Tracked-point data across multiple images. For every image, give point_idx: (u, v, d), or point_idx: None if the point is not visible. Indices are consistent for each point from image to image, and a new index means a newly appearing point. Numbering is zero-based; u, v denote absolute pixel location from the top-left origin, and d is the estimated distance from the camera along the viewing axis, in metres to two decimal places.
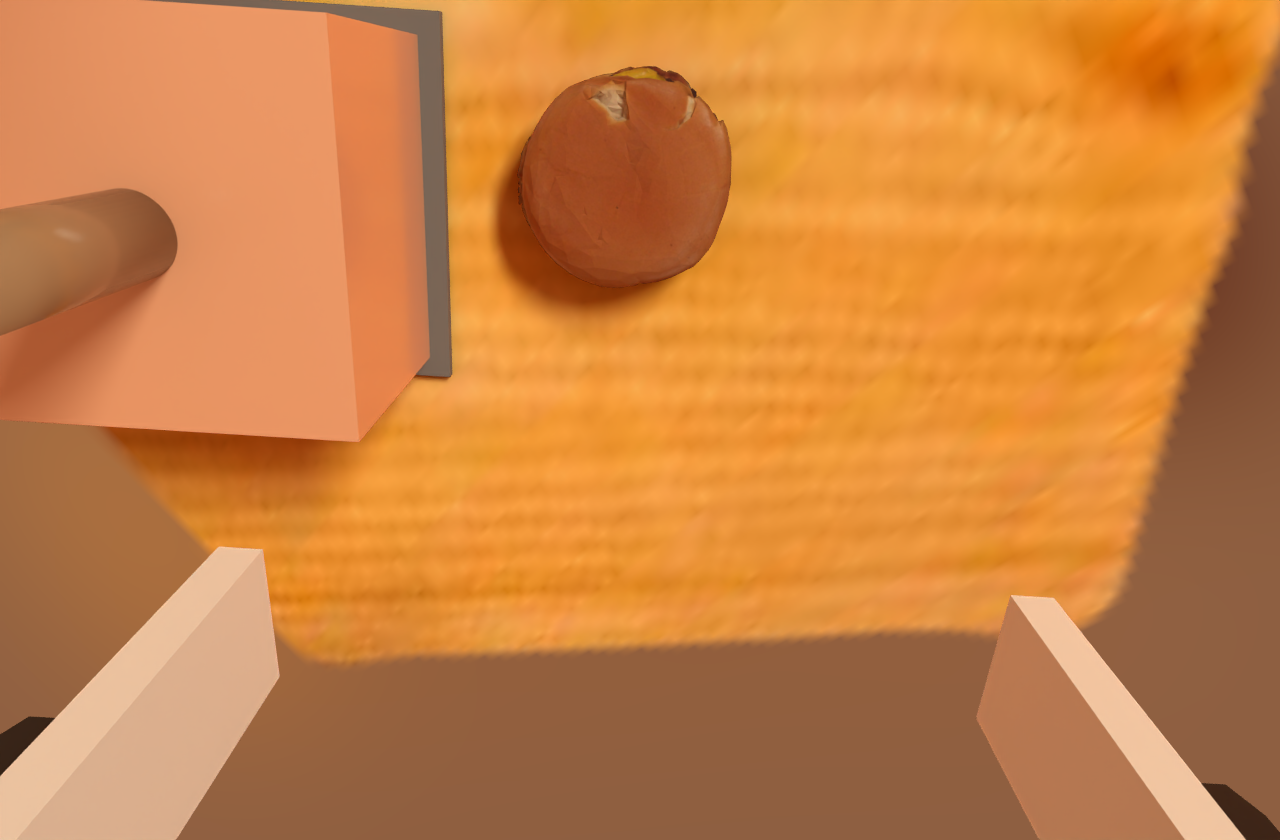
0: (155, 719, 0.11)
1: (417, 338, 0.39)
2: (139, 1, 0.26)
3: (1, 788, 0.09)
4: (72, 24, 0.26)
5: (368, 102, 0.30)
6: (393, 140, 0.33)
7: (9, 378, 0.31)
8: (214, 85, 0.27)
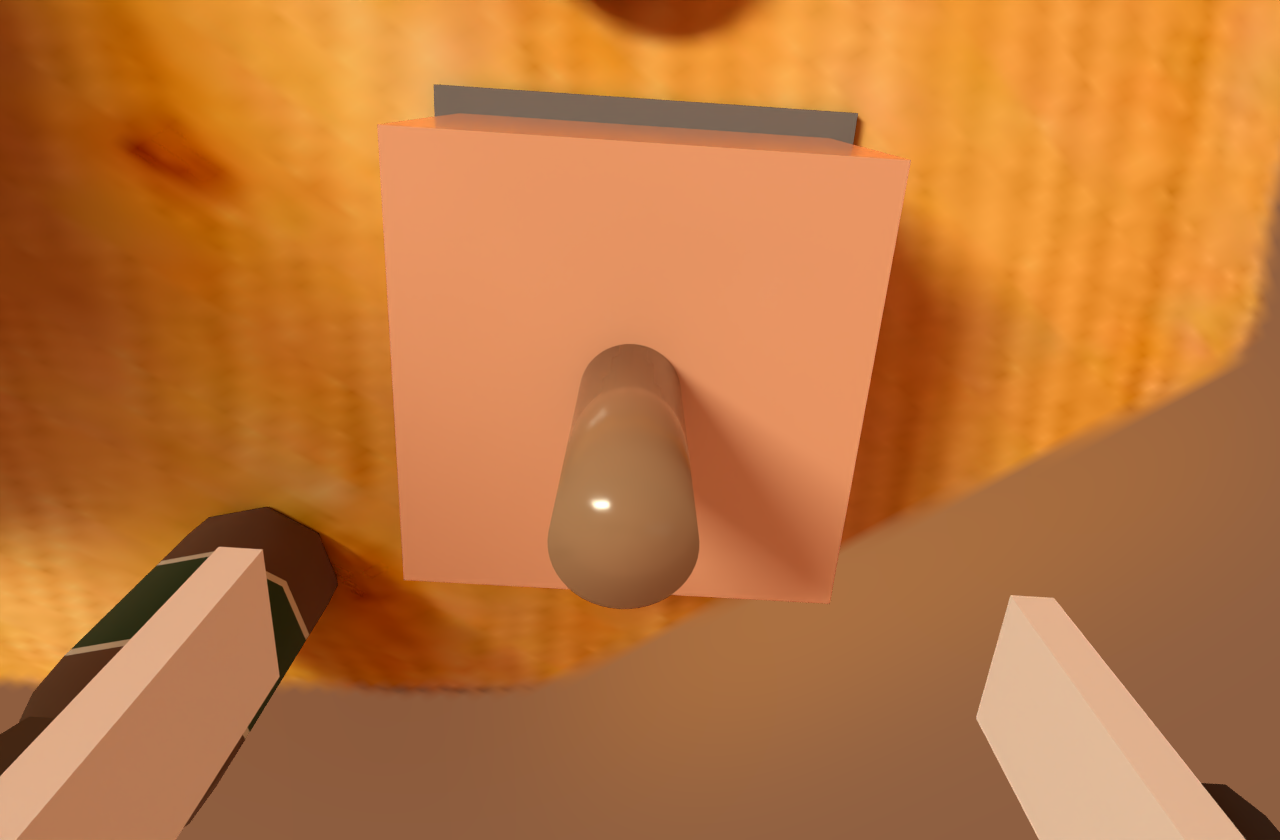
0: (155, 719, 0.11)
1: (798, 138, 0.31)
2: (390, 329, 0.25)
3: (1, 788, 0.09)
4: (419, 400, 0.26)
5: (497, 125, 0.26)
6: (552, 124, 0.29)
7: (787, 555, 0.28)
8: (466, 268, 0.24)
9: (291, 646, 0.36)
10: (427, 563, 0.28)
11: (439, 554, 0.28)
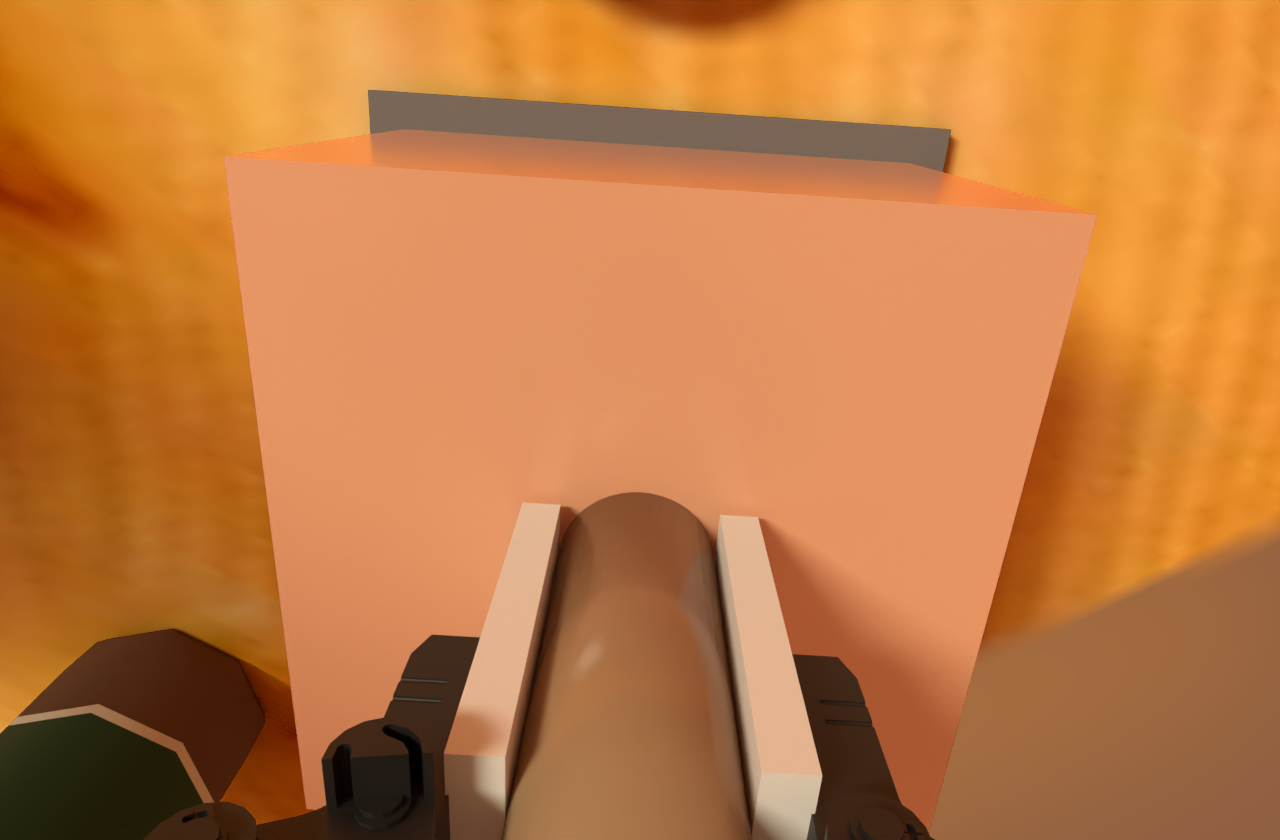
0: (537, 636, 0.13)
1: (874, 165, 0.22)
2: (265, 470, 0.16)
3: (475, 678, 0.11)
4: (316, 571, 0.17)
5: (435, 152, 0.17)
6: (526, 148, 0.20)
7: None
8: (377, 380, 0.15)
9: None
10: None
11: None
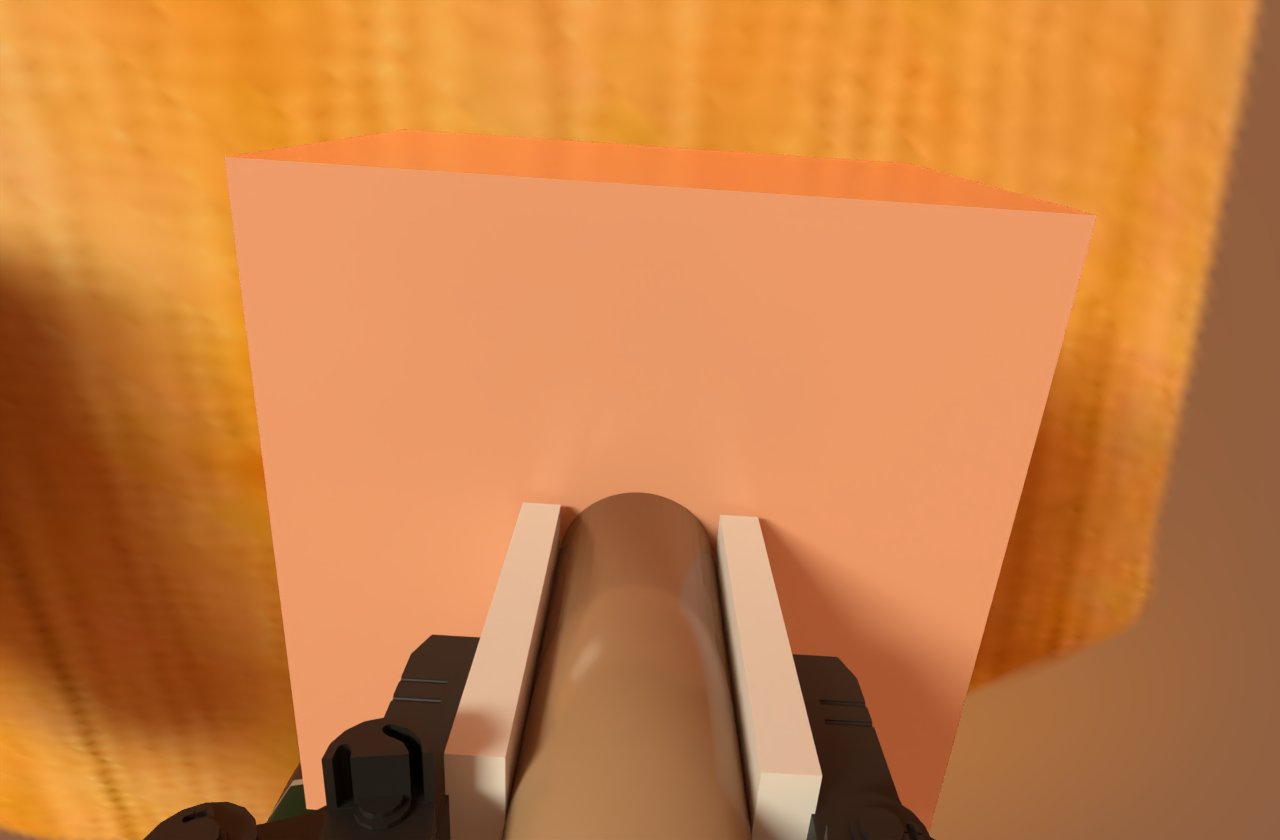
0: (538, 636, 0.13)
1: (874, 166, 0.22)
2: (265, 470, 0.16)
3: (476, 678, 0.11)
4: (316, 571, 0.17)
5: (436, 153, 0.17)
6: (526, 148, 0.20)
7: None
8: (378, 380, 0.15)
9: None
10: None
11: None
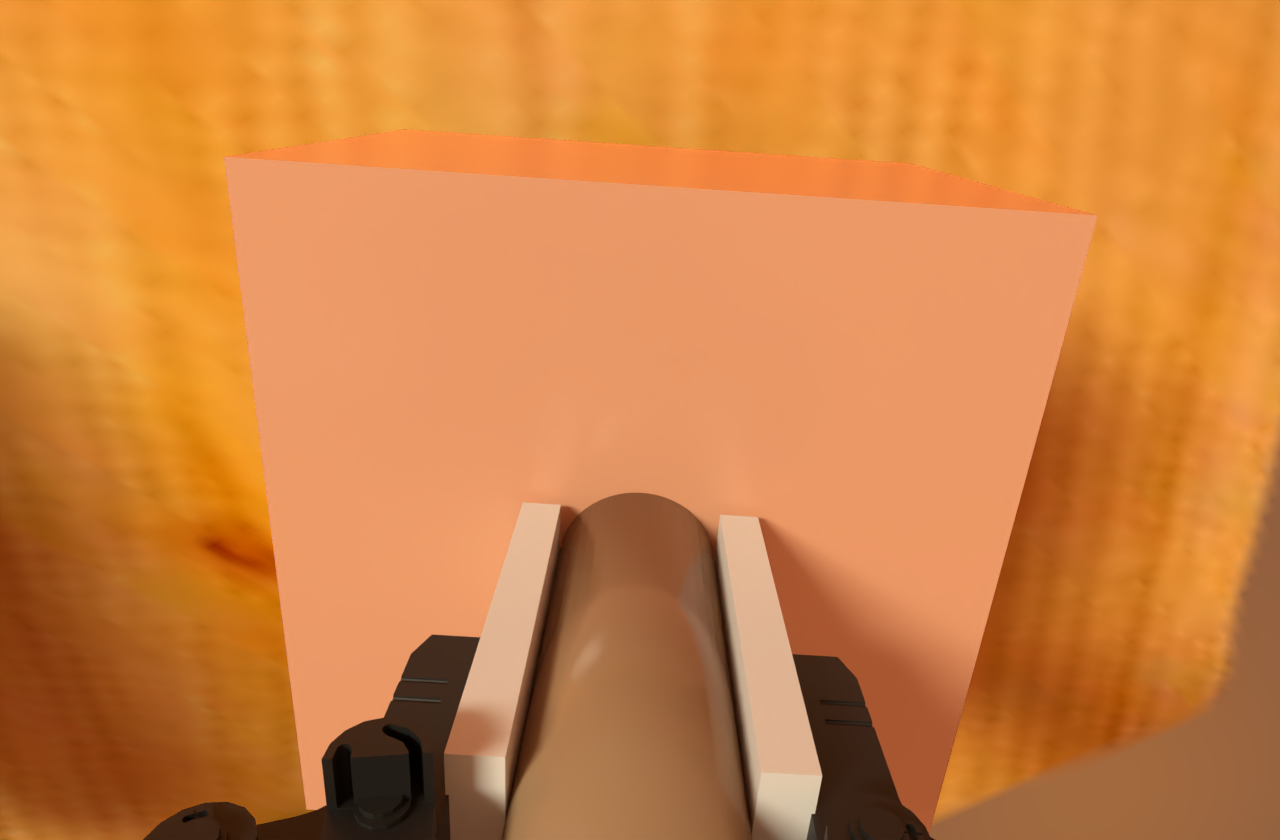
0: (538, 636, 0.13)
1: (874, 166, 0.22)
2: (265, 470, 0.16)
3: (476, 678, 0.11)
4: (316, 571, 0.17)
5: (436, 152, 0.17)
6: (526, 148, 0.20)
7: None
8: (378, 380, 0.15)
9: None
10: None
11: None
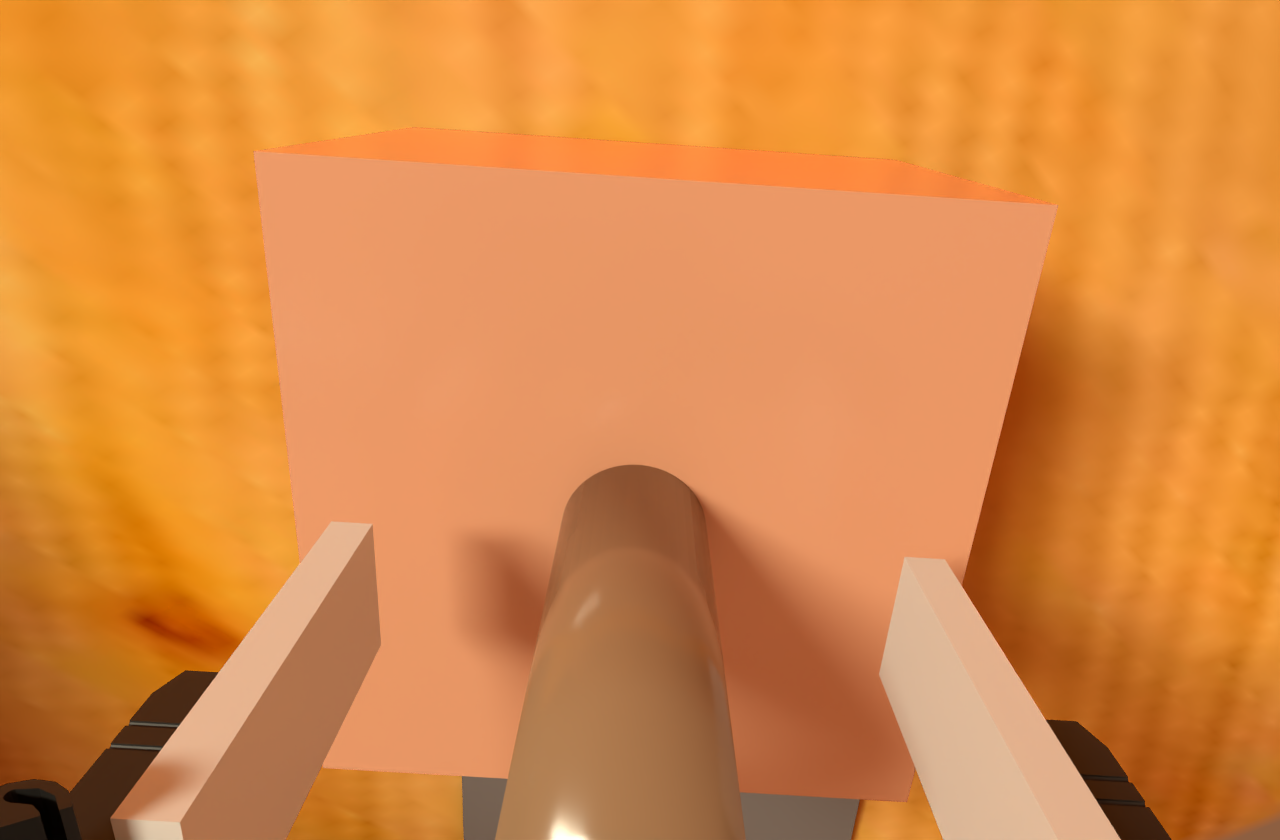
0: (301, 672, 0.12)
1: (860, 162, 0.23)
2: (288, 444, 0.17)
3: (189, 726, 0.10)
4: None
5: (446, 148, 0.18)
6: (530, 145, 0.21)
7: (851, 741, 0.20)
8: (394, 359, 0.16)
9: None
10: (354, 747, 0.20)
11: (370, 736, 0.20)
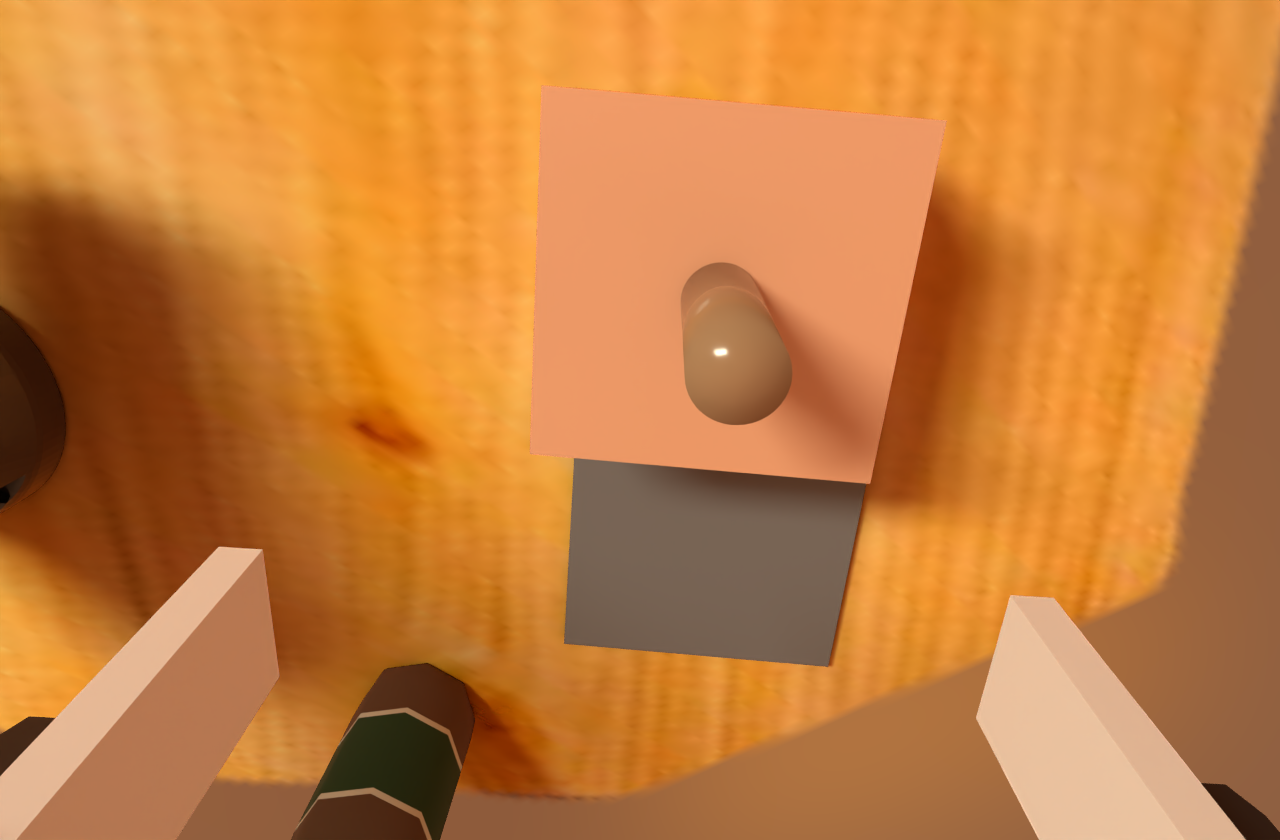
0: (155, 719, 0.11)
1: None
2: (537, 246, 0.32)
3: (1, 788, 0.09)
4: (555, 304, 0.33)
5: None
6: None
7: (837, 441, 0.35)
8: (599, 198, 0.31)
9: (454, 779, 0.49)
10: (549, 440, 0.35)
11: (560, 433, 0.35)
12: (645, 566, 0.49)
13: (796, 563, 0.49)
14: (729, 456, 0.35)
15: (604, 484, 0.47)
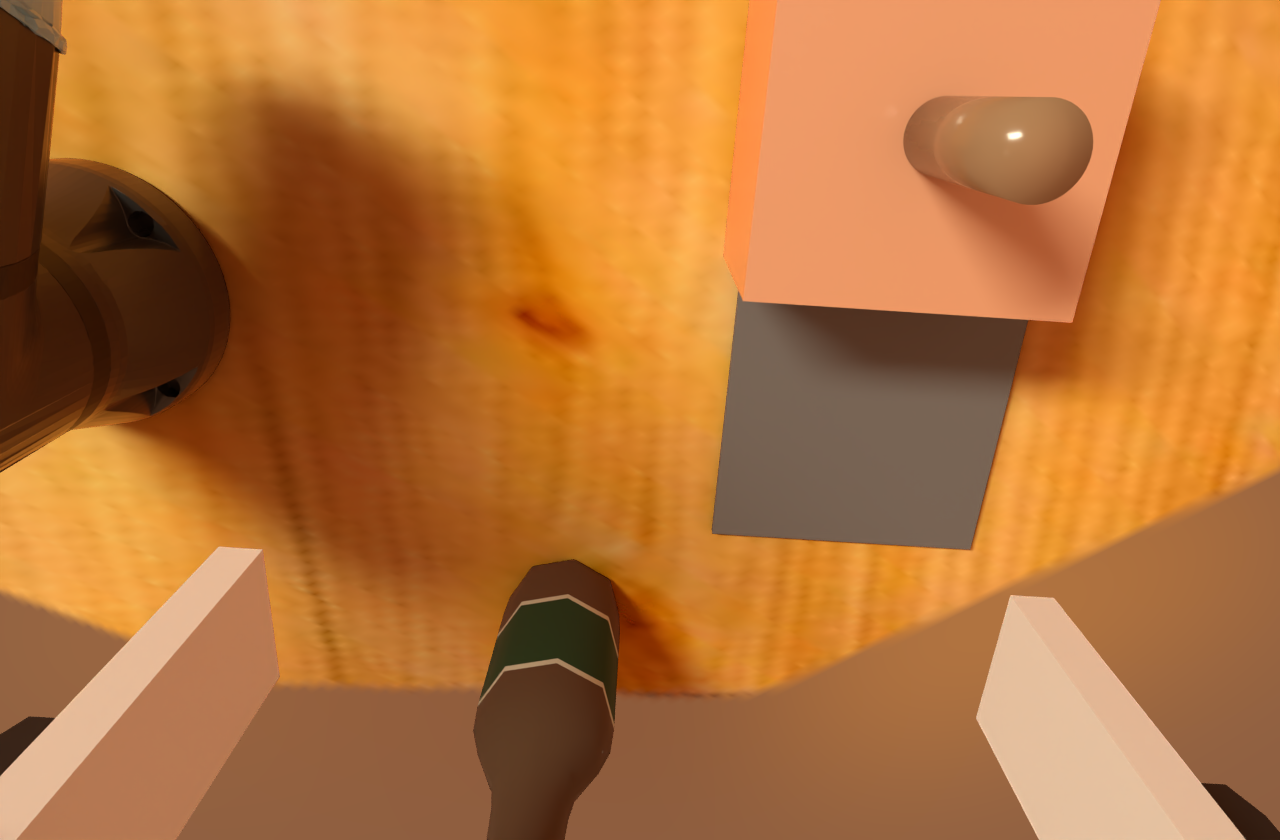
0: (155, 718, 0.11)
1: None
2: (768, 84, 0.33)
3: (1, 788, 0.09)
4: (781, 144, 0.34)
5: None
6: None
7: (1044, 279, 0.36)
8: (833, 32, 0.32)
9: (615, 663, 0.50)
10: (763, 286, 0.36)
11: (774, 278, 0.36)
12: (797, 451, 0.50)
13: (945, 443, 0.50)
14: (937, 298, 0.36)
15: (761, 367, 0.48)
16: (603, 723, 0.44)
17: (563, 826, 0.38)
